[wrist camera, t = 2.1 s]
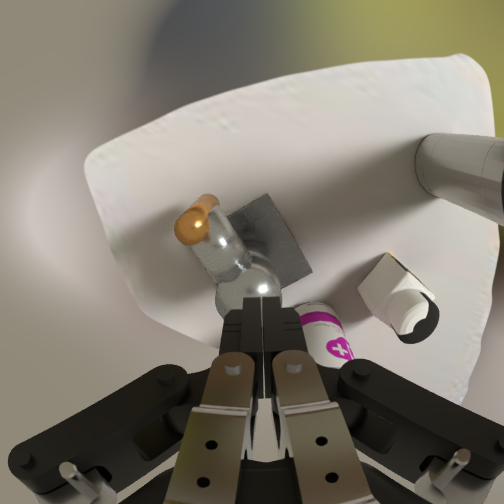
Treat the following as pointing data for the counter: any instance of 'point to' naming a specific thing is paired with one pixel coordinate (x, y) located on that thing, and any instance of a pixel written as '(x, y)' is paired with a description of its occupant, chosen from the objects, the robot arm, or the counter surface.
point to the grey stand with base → (270, 239)
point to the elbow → (225, 256)
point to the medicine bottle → (400, 300)
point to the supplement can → (324, 335)
